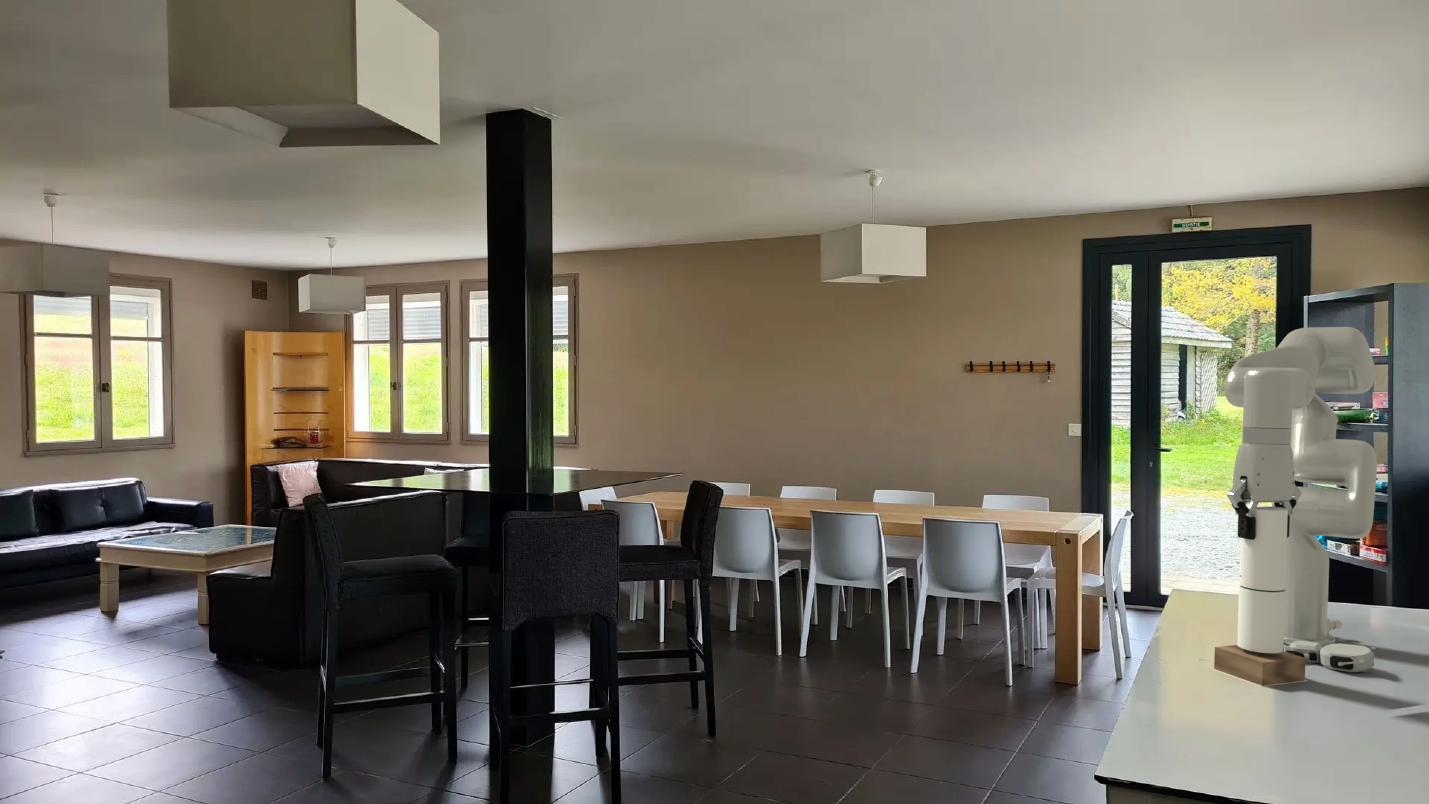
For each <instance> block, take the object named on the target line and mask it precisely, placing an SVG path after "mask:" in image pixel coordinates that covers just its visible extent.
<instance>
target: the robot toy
mask: <svg viewBox="0 0 1429 804" xmlns="http://www.w3.org/2000/svg"><path fill="white" fill-rule="evenodd" d="M1376 649H1377V648H1376V647H1374V646H1373V647H1367V646H1365V645H1358V644H1349V643H1335V644H1330V645H1327V646H1324V647H1322V646H1321V645H1320V644H1319V643H1314V642H1307V641H1295V642H1293V643H1284V644H1283V651H1284V652H1288V653H1291V654H1294V655H1297V656H1301V657H1304V658H1306V659H1305V663H1310V664H1311V663H1312V664H1321V665H1323V667H1324V668H1327V669H1330V670H1335V671H1339V672H1340V671H1341V672H1345V673H1359V672H1365V671H1369V670H1370V669H1372V668H1373V667H1374V666H1375V654H1374V652H1373V651H1374V650H1376Z"/></svg>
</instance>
